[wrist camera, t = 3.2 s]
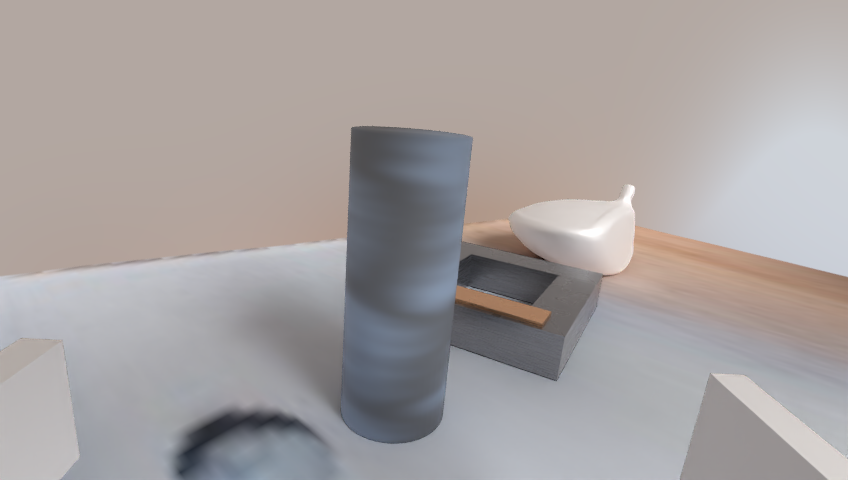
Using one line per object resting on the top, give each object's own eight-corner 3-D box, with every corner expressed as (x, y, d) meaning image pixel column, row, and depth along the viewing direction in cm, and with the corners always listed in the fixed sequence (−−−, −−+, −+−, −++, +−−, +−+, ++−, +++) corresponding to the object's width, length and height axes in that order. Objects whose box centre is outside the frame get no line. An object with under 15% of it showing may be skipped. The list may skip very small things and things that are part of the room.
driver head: (687, 183, 42) (589, 121, 37) (658, 299, 40) (551, 248, 35) (598, 196, 51) (511, 147, 47) (571, 289, 50) (478, 248, 45)
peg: (439, 381, 23) (464, 132, 20) (446, 445, 19) (481, 142, 16) (347, 376, 23) (357, 124, 20) (334, 440, 19) (344, 131, 15)
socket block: (452, 268, 39) (455, 237, 38) (596, 306, 34) (603, 271, 33) (371, 317, 29) (373, 277, 29) (556, 380, 24) (565, 333, 24)
